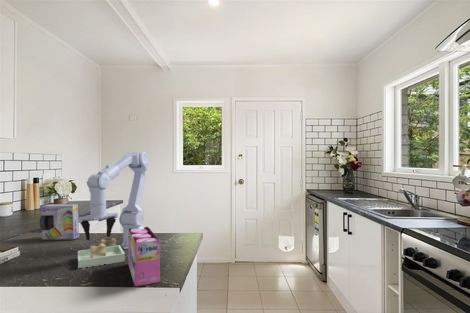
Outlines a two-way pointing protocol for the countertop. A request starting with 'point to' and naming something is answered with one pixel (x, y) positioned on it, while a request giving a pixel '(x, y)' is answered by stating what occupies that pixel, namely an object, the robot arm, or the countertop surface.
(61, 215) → the cake pan box
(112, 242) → the oak block
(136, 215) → the robot arm
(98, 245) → the birch block
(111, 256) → the tray
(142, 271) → the gum box
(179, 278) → the countertop surface
